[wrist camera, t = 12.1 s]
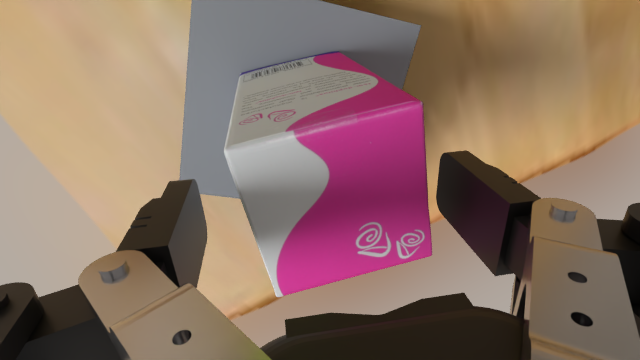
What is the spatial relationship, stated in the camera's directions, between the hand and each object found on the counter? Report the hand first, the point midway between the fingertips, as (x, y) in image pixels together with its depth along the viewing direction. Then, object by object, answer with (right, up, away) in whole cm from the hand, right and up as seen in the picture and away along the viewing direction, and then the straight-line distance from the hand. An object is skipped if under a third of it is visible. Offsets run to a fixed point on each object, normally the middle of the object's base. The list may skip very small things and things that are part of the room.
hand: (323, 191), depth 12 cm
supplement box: (-1, +4, +9) cm, 10 cm away
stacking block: (-3, +7, +15) cm, 16 cm away
